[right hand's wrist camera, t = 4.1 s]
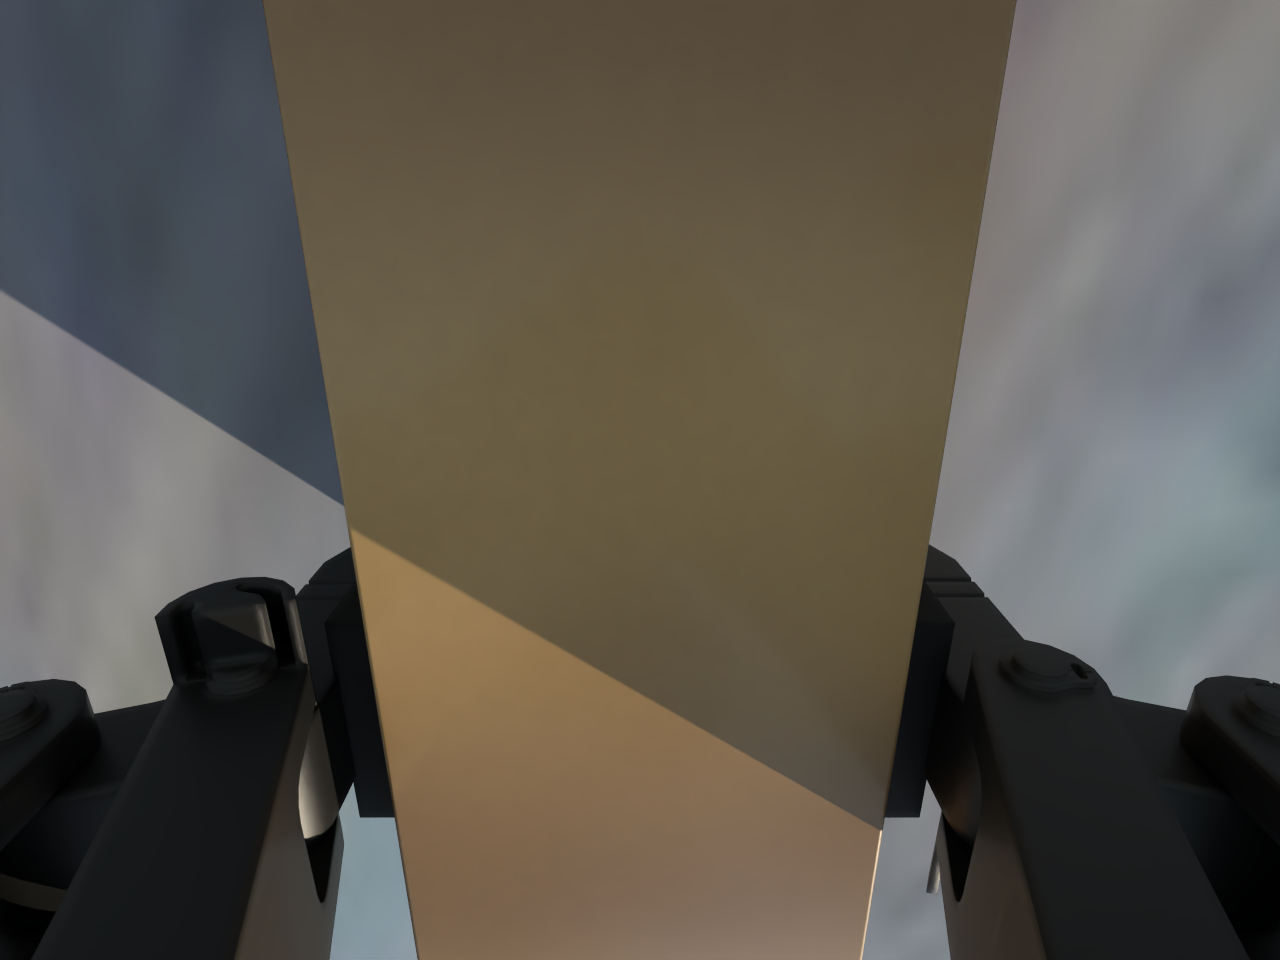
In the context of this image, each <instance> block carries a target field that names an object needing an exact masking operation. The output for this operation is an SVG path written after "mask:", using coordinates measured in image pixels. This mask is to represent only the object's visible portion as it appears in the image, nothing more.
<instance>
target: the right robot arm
mask: <svg viewBox="0 0 1280 960" xmlns="http://www.w3.org/2000/svg"><path fill="white" fill-rule="evenodd" d="M155 620H156V624H157V627H158V631H159V634H160V638H161V641H162V645H163V648H164V652H165V656H166V659H167V663H168V666H169V670H170V673H171V677H172V680H173V684H174V685H173V687H172V689H171V691H170V693H169V694H168V696H167V698H166V699H165V700H161V701H157V702H153V703H148V704H143V705H138V706H133V707H127V708H122V709H117V710H112V711H107V712H102V713H96V714H94V713H93V710H92V707H91V704H90V701H89V698H88V695H87V692H86V690H85V689H84V688H83V687H81V686H80V685H79V684H77V683H76V682H74V681H66V680H58V679H50V680H41V681H33V682H22V683H18V684H13V685H11V687H8V686H6V687H3V688H0V960H329V959H330V951H331V943H332V935H333V928H334V920H335V912H336V904H337V896H338V889H339V881H340V873H341V865H342V858H343V850H344V840H343V833H342V827H341V822H340V817H339V810H340V808H341V806H342V804H343V802H344V800H345V798H346V796H347V794H348V792H349V790H350V788H351V786H352V784H353V782H354V788H355V793H356V798H357V804H358V809H359V815H360V817H395V816H394V810H393V804H392V798H391V792H390V785H389V779H388V773H387V767H386V761H385V754H384V748H383V742H382V736H381V730H380V724H379V717H378V711H377V705H376V699H375V693H374V687H373V680H372V674H371V668H370V662H369V656H368V650H367V643H366V637H365V631H364V625H363V619H362V612H361V606H360V600H359V594H358V588H357V582H356V575H355V569H354V563H353V557H352V551H351V547H350V548H348V549H346V550H345V551H343V552H341V553H340V554H338V555H336V556H334V557H333V558H331V559H329V560H328V561H326V562H324V564H323V565H322V566H321V567H320V568H319V569H318V571H317V572H316V573H315V574H314V575H313V576H312V578H311V579H310V580H309V584H306V585H305V586H304V587H303V588H302V589H301V591H300V592H299V593H298V594H297V595H295V590H294V588H293V587H292V586H290V585H289V584H288V583H286V582H285V581H283V580H278V579H273V578H268V577H248V578H237V579H232V580H227V581H222V582H217V583H213V584H210V585H207V586H205V587H202V588H199V589H196V590H193V591H190V592H188V593H186V594H185V595H183V596H181V597H179V598H177V599H176V600H174V601H172V602H170V603H168V604H167V605H166V606H165V607H164V608H163V609H162V610H161V611H160V612H159V613H158V614H157V615H156V616H155ZM926 779H927V781H928V783H929V785H930V787H931V789H932V791H933V793H934V795H935V797H936V799H937V801H938V803H939V805H940V807H941V809H942V812H941V817H940V822H939V827H938V832H937V837H936V842H935V847H934V852H933V857H932V862H931V867H930V872H929V877H928V884H927V891H926V892H927V893H932V894H937V889H938V884H939V880H940V879H941V887H942V895H943V902H944V910H945V918H946V926H947V934H948V941H949V949H950V957H951V960H1280V684H1277V683H1274V682H1273V684H1271V683H1269V681H1266V680H1261V679H1256V678H1244V677H1235V676H1219V677H1210V678H1205V679H1204V680H1203V681H1201V682H1200V683H1198V684H1197V685H1196V686H1195V687H1194V690H1193V693H1192V696H1191V699H1190V702H1189V705H1188V708H1187V711H1186V710H1181V709H1175V708H1170V707H1165V706H1160V705H1154V704H1149V703H1144V702H1139V701H1134V700H1128V699H1124V698H1120V697H1116V696H1113V695H1112V693H1111V691H1110V689H1109V687H1108V685H1107V683H1106V682H1105V681H1104V680H1103V679H1102V678H1101V676H1100V675H1099V674H1098V673H1097V672H1096V670H1095V669H1094V668H1092V667H1091V666H1089V665H1088V664H1086V663H1085V662H1083V661H1082V660H1080V659H1079V658H1077V657H1076V656H1074V655H1072V654H1069V653H1067V652H1064V651H1062V650H1060V649H1057V648H1055V647H1052V646H1050V645H1046V644H1041V643H1037V642H1032V641H1028V640H1024V639H1023V638H1022V637H1021V635H1020V634H1019V633H1018V632H1017V631H1016V630H1015V629H1014V627H1013V626H1012V625H1011V624H1010V623H1009V622H1008V620H1007V619H1006V618H1005V617H1004V616H1003V615H1002V613H1001V612H1000V611H999V610H998V609H997V608H996V606H995V605H994V604H993V603H992V602H991V601H990V599H989V598H988V597H984V593H983V591H982V590H981V589H980V588H979V587H978V586H977V584H976V583H975V582H971V577H970V576H969V575H968V574H967V573H966V572H965V570H964V569H963V568H962V567H961V566H960V565H959V563H958V562H957V561H956V560H955V559H953V558H951V557H950V556H948V555H946V554H945V553H943V552H941V551H939V550H938V549H936V548H934V547H933V546H931V545H929V546H928V552H927V558H926V564H925V571H924V577H923V583H922V589H921V595H920V602H919V608H918V614H917V620H916V626H915V633H914V639H913V645H912V651H911V657H910V663H909V670H908V676H907V682H906V688H905V694H904V701H903V707H902V713H901V719H900V725H899V732H898V738H897V744H896V750H895V756H894V763H893V769H892V775H891V781H890V787H889V794H888V800H887V806H886V812H885V817H920V812H921V806H922V801H923V796H924V790H925V785H926Z"/></svg>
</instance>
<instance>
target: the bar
mask: <svg viewBox="0 0 1280 960" xmlns="http://www.w3.org/2000/svg"><path fill="white" fill-rule="evenodd" d="M262 1H263V7H264V13H265V20H266V26H267V32H268V38H269V44H270V50H271V57H272V63H273V69H274V75H275V81H276V88H277V94H278V100H279V106H280V112H281V118H282V125H283V131H284V137H285V143H286V149H287V155H288V162H289V168H290V174H291V180H292V186H293V192H294V199H295V205H296V211H297V217H298V223H299V230H300V236H301V242H302V248H303V254H304V260H305V267H306V273H307V279H308V285H309V291H310V297H311V304H312V310H313V316H314V322H315V328H316V335H317V341H318V347H319V353H320V359H321V365H322V372H323V378H324V384H325V390H326V396H327V402H328V409H329V415H330V421H331V427H332V433H333V440H334V446H335V452H336V458H337V464H338V470H339V477H340V483H341V489H342V495H343V501H344V507H345V514H346V520H347V526H348V532H349V538H350V545H351V551H352V557H353V563H354V569H355V575H356V582H357V588H358V594H359V600H360V606H361V612H362V619H363V625H364V631H365V637H366V643H367V650H368V656H369V662H370V668H371V674H372V680H373V687H374V693H375V699H376V705H377V711H378V717H379V724H380V730H381V736H382V742H383V748H384V754H385V761H386V767H387V773H388V779H389V785H390V792H391V798H392V804H393V810H394V816H395V822H396V829H397V835H398V841H399V847H400V853H401V859H402V866H403V872H404V878H405V884H406V890H407V897H408V903H409V909H410V915H411V921H412V927H413V934H414V940H415V946H416V952H417V958H418V960H862V955H863V948H864V942H865V936H866V930H867V924H868V917H869V911H870V905H871V899H872V893H873V886H874V880H875V874H876V868H877V862H878V855H879V849H880V843H881V837H882V831H883V824H884V818H885V812H886V806H887V800H888V794H889V787H890V781H891V775H892V769H893V763H894V756H895V750H896V744H897V738H898V732H899V725H900V719H901V713H902V707H903V701H904V694H905V688H906V682H907V676H908V670H909V663H910V657H911V651H912V645H913V639H914V633H915V626H916V620H917V614H918V608H919V602H920V595H921V589H922V583H923V577H924V571H925V564H926V558H927V552H928V546H929V540H930V533H931V527H932V521H933V515H934V509H935V502H936V496H937V490H938V484H939V478H940V472H941V465H942V459H943V453H944V447H945V441H946V434H947V428H948V422H949V416H950V410H951V403H952V397H953V391H954V385H955V379H956V372H957V366H958V360H959V354H960V348H961V341H962V335H963V329H964V323H965V317H966V311H967V304H968V298H969V292H970V286H971V280H972V273H973V267H974V261H975V255H976V249H977V242H978V236H979V230H980V224H981V218H982V211H983V205H984V199H985V193H986V187H987V180H988V174H989V168H990V162H991V156H992V150H993V143H994V137H995V131H996V125H997V119H998V112H999V106H1000V100H1001V94H1002V88H1003V81H1004V75H1005V69H1006V63H1007V57H1008V50H1009V44H1010V38H1011V32H1012V26H1013V19H1014V13H1015V7H1016V1H1017V0H262Z"/></svg>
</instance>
